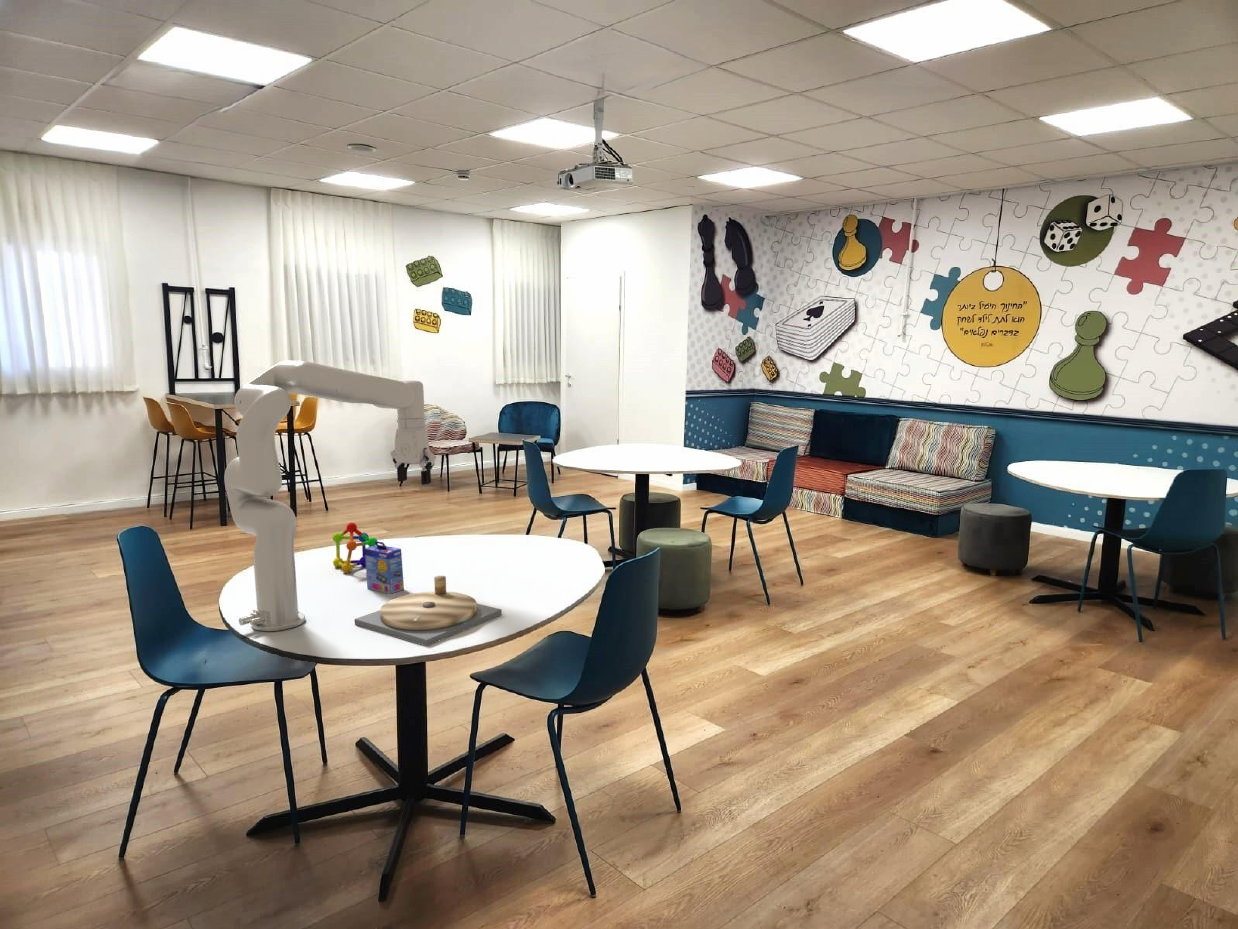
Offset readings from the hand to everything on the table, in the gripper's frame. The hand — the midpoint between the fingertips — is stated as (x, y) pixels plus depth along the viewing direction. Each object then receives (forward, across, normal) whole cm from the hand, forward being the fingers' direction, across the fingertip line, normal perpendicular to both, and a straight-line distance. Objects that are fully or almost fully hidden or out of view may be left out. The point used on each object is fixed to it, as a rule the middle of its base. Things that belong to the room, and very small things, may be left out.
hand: (414, 482), depth 236 cm
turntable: (+28, +27, -22) cm, 45 cm away
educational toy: (+30, -29, +1) cm, 42 cm away
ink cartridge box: (+30, -3, -10) cm, 32 cm away
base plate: (+30, +27, -22) cm, 46 cm away
